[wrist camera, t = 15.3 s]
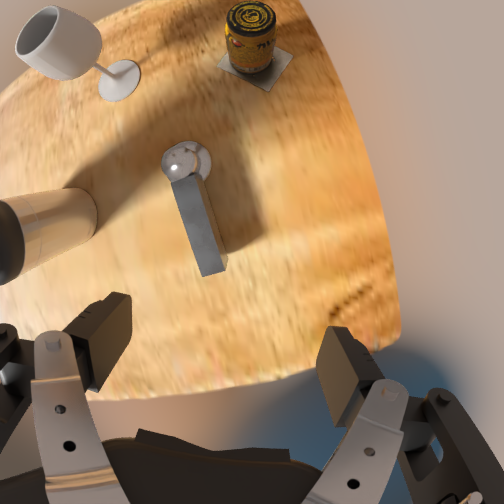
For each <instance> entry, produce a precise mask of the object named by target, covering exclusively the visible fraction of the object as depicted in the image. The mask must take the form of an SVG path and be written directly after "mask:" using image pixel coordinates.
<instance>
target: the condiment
mask: <svg viewBox="0 0 504 504" xmlns="http://www.w3.org/2000/svg"><path fill="white" fill-rule="evenodd" d="M276 36H277V26H276V15H275V12H274V11H273V10H272V9H271V8H270V7H269V6H268V5H266V4H264V3H261V2H258V1H244V2H241V3H239V4H236V5H235V6H234V7H233V8H231V9H230V11H229V12H228V15H227V23H226V25H225V38H226V44H227V53H226V54H225V55H224V57H223V58H222V59H221V61H220V62H219V63H218V65H217V66H216V67H218V68H221V69H223V70H225V71H227V72H229V73H231V74H233V75H235V76H238V77H240V78H242V79H244V80H246V81H248V82H250V83H252V84H254V85H256V86H258V87H260V88H262V89H264V90H266V91H268V92H269V91H270V89H271V88H272V86H273V85H274V84H275V82H276V80H277V79H278V78H279V76H280V75H281V73H282V72H283V70H284V69H285V68H286V66H287V65H288V63H289V62H290V60H291V59H292V58H293V55H291V54H289V53H287V52H285V51H283V50H282V49H279V48H278V47H276V46H274V45H275V41H276ZM272 57H273V58H272ZM273 59H275V61H274V60H273ZM253 75H254V76H253Z"/></svg>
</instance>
